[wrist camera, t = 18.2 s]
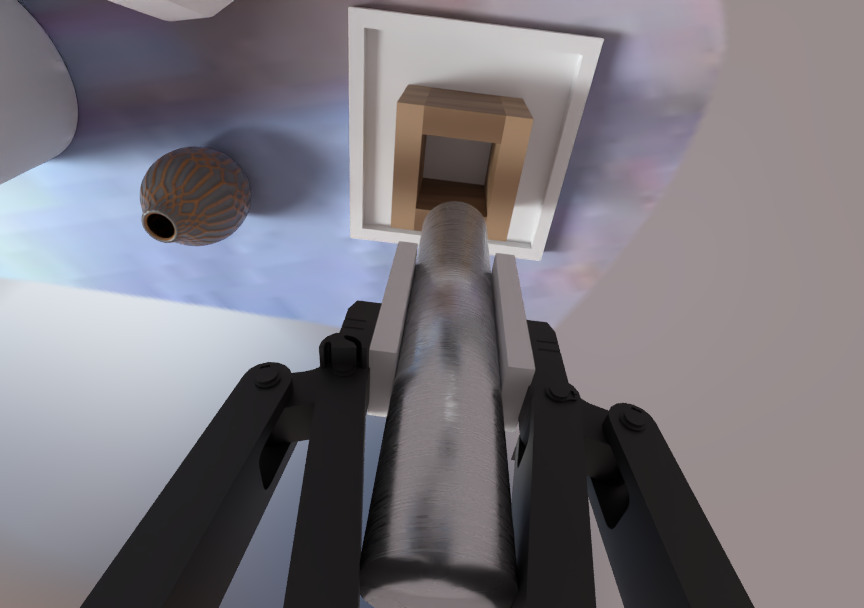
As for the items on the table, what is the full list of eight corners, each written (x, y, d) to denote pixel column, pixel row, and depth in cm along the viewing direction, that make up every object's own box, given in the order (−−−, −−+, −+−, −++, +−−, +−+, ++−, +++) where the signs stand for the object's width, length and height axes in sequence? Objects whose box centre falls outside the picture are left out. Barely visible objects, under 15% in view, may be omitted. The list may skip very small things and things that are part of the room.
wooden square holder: (408, 84, 30) (396, 102, 25) (522, 98, 30) (533, 119, 25) (401, 194, 35) (390, 227, 30) (500, 206, 35) (506, 241, 30)
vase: (248, 233, 39) (199, 287, 31) (169, 192, 37) (98, 240, 30) (274, 167, 35) (225, 212, 28) (188, 118, 33) (112, 153, 26)
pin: (425, 197, 21) (356, 542, 8) (492, 205, 21) (537, 564, 8) (419, 256, 23) (355, 615, 10) (481, 263, 23) (501, 632, 10)
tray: (353, 6, 28) (348, 6, 27) (598, 36, 28) (604, 38, 27) (354, 229, 38) (350, 237, 36) (538, 252, 38) (540, 261, 37)
